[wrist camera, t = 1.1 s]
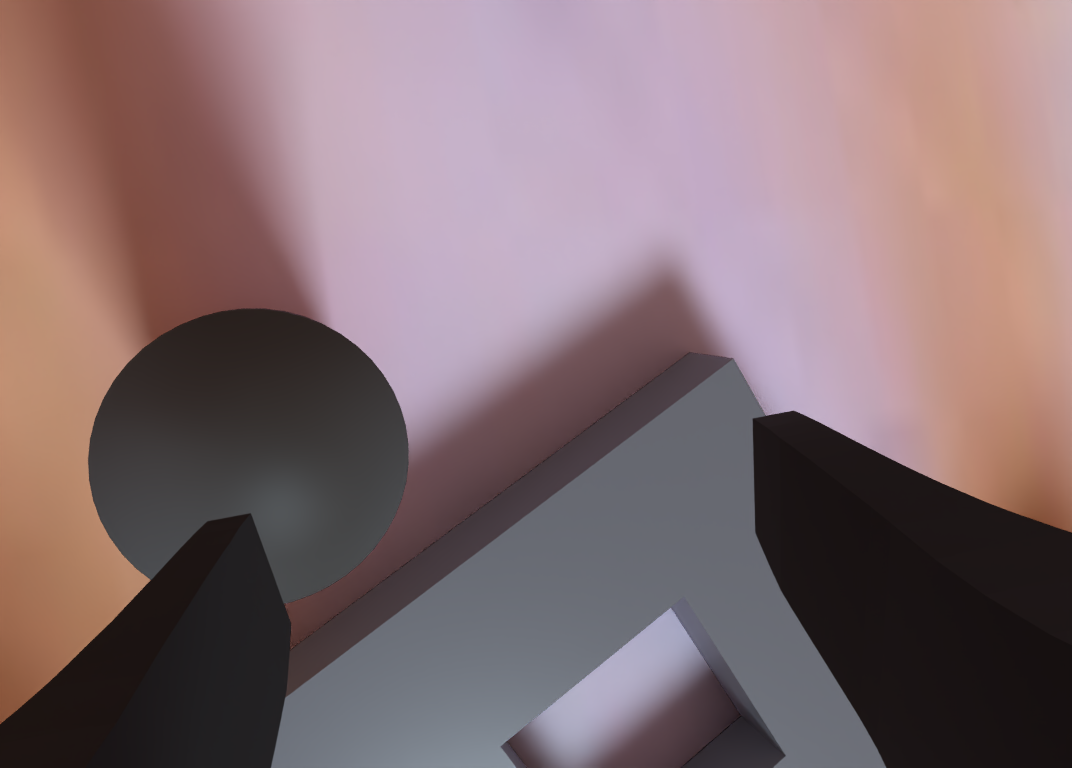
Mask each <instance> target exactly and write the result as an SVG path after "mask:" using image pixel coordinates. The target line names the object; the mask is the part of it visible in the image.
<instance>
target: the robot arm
mask: <svg viewBox="0 0 1072 768" xmlns="http://www.w3.org/2000/svg"><path fill="white" fill-rule="evenodd" d="M752 419H753V461H754V503H755V533H756V536H757V538H758V540H759V543H760V545H761V547H762V550H763V552H764V554H765V557H766V559H767V561H768V564H769V566H770V568H771V570H772V572H773V575H774V577H775V579H776V581H777V583H778V585H779V588H780V590H781V592H782V593H783V595H784V597H785V598H786V600H787V602H788V603H789V605H790V607H791V608H792V610H793V612H794V613H795V615H796V616H797V618H798V620H799V621H800V623H801V625H802V626H803V628H804V630H805V631H806V633H807V634H808V636H809V638H810V639H811V641H812V642H813V644H814V646H815V647H816V649H817V650H818V652H819V654H820V655H821V657H822V658H823V660H824V662H825V663H826V665H827V666H828V668H829V670H830V671H831V673H832V674H833V676H834V678H835V679H836V681H837V683H838V684H839V686H840V687H841V689H842V691H843V692H844V694H845V695H846V697H847V699H848V700H849V702H850V703H851V705H852V707H853V708H854V710H855V711H856V713H857V715H858V716H859V718H860V720H861V721H862V723H863V725H864V727H865V728H866V730H867V732H868V734H869V736H870V737H871V739H872V741H873V743H874V744H875V746H876V748H877V750H878V752H879V754H880V756H881V758H882V760H883V762H884V764H885V766H886V768H1072V533H1071V532H1068V531H1065V530H1062V529H1059V528H1056V527H1053V526H1050V525H1047V524H1044V523H1042V522H1039V521H1036V520H1033V519H1030V518H1027V517H1024V516H1021V515H1019V514H1016V513H1013V512H1010V511H1007V510H1005V509H1002V508H1000V507H997V506H994V505H992V504H989V503H987V502H984V501H982V500H979V499H977V498H975V497H972V496H970V495H968V494H965V493H963V492H961V491H958V490H956V489H954V488H951V487H949V486H947V485H945V484H942V483H940V482H938V481H936V480H933V479H931V478H929V477H927V476H925V475H923V474H920V473H918V472H916V471H914V470H912V469H910V468H908V467H906V466H904V465H902V464H900V463H898V462H896V461H893V460H891V459H889V458H887V457H885V456H883V455H881V454H879V453H878V452H876V451H874V450H872V449H870V448H868V447H866V446H864V445H862V444H860V443H858V442H856V441H854V440H852V439H850V438H848V437H846V436H844V435H843V434H841V433H839V432H837V431H835V430H833V429H831V428H829V427H827V426H825V425H823V424H821V423H819V422H817V421H815V420H813V419H811V418H809V417H807V416H805V415H803V414H800V413H798V412H796V411H790V412H784V413H779V414H774V415H768V416H763V417H758V418H752ZM290 634H291V622H290V619H289V616H288V614H287V611H286V608H285V605H284V603H283V600H282V597H281V594H280V592H279V589H278V586H277V583H276V581H275V578H274V575H273V572H272V570H271V567H270V564H269V561H268V559H267V556H266V553H265V550H264V548H263V545H262V542H261V539H260V537H259V534H258V531H257V528H256V526H255V523H254V520H253V517H252V515H251V513H248V514H243V515H238V516H233V517H227V518H222V519H217V520H211V521H207V522H206V523H205V524H204V525H203V526H202V527H201V528H200V529H199V530H198V531H197V532H196V533H195V534H194V535H193V536H192V537H191V538H190V539H189V540H188V541H187V542H186V543H185V544H184V545H183V546H182V547H181V548H180V549H179V550H178V551H177V552H176V554H175V555H174V556H173V557H172V558H171V559H170V560H169V561H168V562H167V563H166V564H165V565H164V567H163V568H162V569H161V570H160V571H159V572H158V573H157V574H156V575H155V576H154V577H153V578H152V579H151V581H150V582H149V583H148V584H147V585H146V586H145V587H144V588H143V589H142V590H141V591H140V592H139V593H138V594H137V595H136V596H135V598H134V599H133V600H132V601H131V602H130V603H129V604H128V605H127V606H126V607H125V608H124V609H123V610H122V611H121V612H120V613H119V614H118V616H117V617H116V618H115V619H114V620H113V621H112V622H111V623H110V624H109V625H108V626H107V627H106V628H105V629H104V630H102V631H101V632H100V633H99V634H98V635H97V636H96V637H95V638H94V639H93V640H92V641H91V642H90V643H89V644H88V645H87V646H86V647H85V648H84V649H83V650H82V651H81V652H80V653H79V654H78V655H77V656H76V657H75V658H74V659H73V660H72V661H71V662H70V663H69V664H68V665H67V666H66V667H65V668H64V669H63V670H61V671H60V672H59V673H58V674H57V675H56V676H55V677H54V678H53V679H52V680H51V681H50V682H49V683H48V684H46V685H45V686H44V687H43V688H42V689H41V690H40V691H39V692H38V693H36V694H35V695H34V696H33V697H32V698H31V699H30V700H28V701H27V702H26V703H25V704H24V705H23V706H22V707H20V708H19V709H18V710H17V711H16V712H14V713H13V714H12V715H11V716H10V717H8V718H7V719H6V720H5V721H4V722H2V723H1V724H0V768H271V766H272V761H273V756H274V751H275V747H276V742H277V737H278V732H279V727H280V722H281V717H282V712H283V707H284V702H285V696H286V691H287V681H288V668H289V654H290Z"/></svg>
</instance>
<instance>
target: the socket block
mask: <svg viewBox="0 0 1072 768" xmlns="http://www.w3.org/2000/svg"><path fill="white" fill-rule="evenodd" d="M763 416H766V415H765V414H764V412H763V410H762V408H761V407H760V405H759V403H758V401H757V399H756V398H755V396H754V394H753V392H752V391H751V389H750V387H749V385H748V384H747V382H746V380H745V378H744V376H743V375H742V373H741V371H740V369H739V368H738V366H737V364H736V362H735V360H734V359H733V358H726V357H719V356H712V355H705V354H699V353H692V352H690V353H689V354H687V355H686V356H685V357H683V358H682V359H681V360H679V361H678V362H676V363H675V364H674V365H672V366H671V367H670V368H668V369H667V370H666V371H664V372H663V373H662V374H660V375H659V376H658V377H656V378H655V379H654V380H652V381H651V382H650V383H648V384H647V385H646V386H644V387H643V388H642V389H640V390H639V391H638V392H636V393H635V394H634V395H632V396H631V397H630V398H628V399H627V400H625V401H624V402H623V403H621V404H620V405H619V406H617V407H616V408H615V409H613V410H612V411H611V412H609V413H608V414H607V415H605V416H604V417H603V418H601V419H600V420H599V421H597V422H596V423H595V424H593V425H592V426H591V427H589V428H588V429H587V430H585V431H584V432H583V433H581V434H580V435H579V436H577V437H576V438H574V439H573V440H572V441H570V442H569V443H568V444H566V445H565V446H564V447H562V448H561V449H560V450H558V451H557V452H556V453H554V454H553V455H552V456H550V457H549V458H548V459H546V460H545V461H544V462H542V463H541V464H540V465H538V466H537V467H536V468H534V469H533V470H532V471H530V472H529V473H528V474H526V475H525V476H523V477H522V478H521V479H519V480H518V481H517V482H515V483H514V484H513V485H511V486H510V487H509V488H507V489H506V490H505V491H503V492H502V493H501V494H499V495H498V496H497V497H495V498H494V499H493V500H491V501H490V502H489V503H487V504H486V505H485V506H483V507H482V508H481V509H479V510H478V511H477V512H475V513H474V514H472V515H471V516H470V517H468V518H467V519H466V520H464V521H463V522H462V523H460V524H459V525H458V526H456V527H455V528H454V529H452V530H451V531H450V532H448V533H447V534H446V535H444V536H443V537H442V538H440V539H439V540H438V541H436V542H435V543H434V544H432V545H431V546H430V547H428V548H427V549H426V550H424V551H423V552H421V553H420V554H419V555H417V556H416V557H415V558H413V559H412V560H411V561H409V562H408V563H407V564H405V565H404V566H403V567H401V568H400V569H399V570H397V571H396V572H395V573H393V574H392V575H391V576H389V577H388V578H387V579H385V580H384V581H383V582H381V583H380V584H379V585H377V586H376V587H375V588H373V589H372V590H370V591H369V592H368V593H366V594H365V595H364V596H362V597H361V598H360V599H358V600H357V601H356V602H354V603H353V604H352V605H350V606H349V607H348V608H346V609H345V610H344V611H342V612H341V613H340V614H338V615H337V616H336V617H334V618H333V619H332V620H330V621H329V622H328V623H326V624H325V625H324V626H322V627H321V628H319V629H318V630H317V631H315V632H314V633H313V634H311V635H310V636H309V637H307V638H306V639H305V640H303V641H302V642H301V643H299V644H298V645H297V646H295V647H294V648H293V649H291V650H290V654H289V668H288V681H287V691H286V696H285V702H284V707H283V712H282V717H281V722H280V727H279V732H278V737H277V742H276V747H275V751H274V756H273V761H272V766H271V768H527V767H526V766H525V765H524V763H523V762H522V761H521V759H520V758H519V757H518V755H517V754H516V753H515V751H514V750H513V749H512V747H511V746H510V745H509V744H508V742H507V741H508V740H509V739H510V738H511V737H513V736H514V735H515V734H516V733H517V732H519V731H520V730H521V729H522V728H524V727H525V726H526V725H527V724H529V723H530V722H531V721H532V720H533V719H535V718H536V717H537V716H538V715H540V714H541V713H542V712H543V711H544V710H546V709H547V708H548V707H549V706H551V705H552V704H553V703H554V702H555V701H557V700H558V699H559V698H560V697H562V696H563V695H564V694H565V693H566V692H568V691H569V690H570V689H571V688H573V687H574V686H575V685H576V684H577V683H579V682H580V681H581V680H582V679H584V678H585V677H586V676H587V675H589V674H590V673H591V672H592V671H593V670H595V669H596V668H597V667H598V666H600V665H601V664H602V663H603V662H604V661H606V660H607V659H608V658H609V657H611V656H612V655H613V654H614V653H615V652H617V651H618V650H619V649H620V648H622V647H623V646H624V645H625V644H626V643H628V642H629V641H630V640H631V639H633V638H634V637H635V636H636V635H637V634H639V633H640V632H641V631H642V630H644V629H645V628H646V627H647V626H649V625H650V624H651V623H652V622H653V621H655V620H656V619H657V618H658V617H660V616H661V615H662V614H663V613H664V612H666V611H667V610H668V609H669V608H672V610H673V611H674V613H675V614H676V616H677V617H678V619H679V621H680V622H681V624H682V625H683V627H684V628H685V630H686V631H687V633H688V634H689V636H690V638H691V639H692V641H693V642H694V644H695V645H696V647H697V648H698V650H699V651H700V653H701V655H702V656H703V658H704V659H705V661H706V662H707V664H708V665H709V667H710V668H711V670H712V672H713V673H714V675H715V676H716V678H717V679H718V681H719V682H720V684H721V685H722V687H723V688H724V690H725V692H726V693H727V695H728V696H729V698H730V699H731V701H732V702H733V704H734V705H735V707H736V709H737V710H738V712H739V713H740V715H741V717H740V718H738V719H737V720H736V721H735V722H734V723H733V724H732V725H730V726H729V727H728V728H727V729H726V730H725V731H723V732H722V733H721V734H720V735H719V736H718V737H717V738H715V739H714V740H713V741H712V742H711V743H710V744H708V745H707V746H706V747H705V748H704V749H703V750H702V751H700V752H699V753H698V754H697V755H696V756H695V757H693V758H692V759H691V760H690V761H689V762H688V763H687V764H685V765H684V766H683V767H682V768H886V766H885V764H884V762H883V760H882V758H881V756H880V754H879V752H878V750H877V748H876V746H875V744H874V743H873V741H872V739H871V737H870V736H869V734H868V732H867V730H866V728H865V727H864V725H863V723H862V721H861V720H860V718H859V716H858V715H857V713H856V711H855V710H854V708H853V707H852V705H851V703H850V702H849V700H848V699H847V697H846V695H845V694H844V692H843V691H842V689H841V687H840V686H839V684H838V683H837V681H836V679H835V678H834V676H833V674H832V673H831V671H830V670H829V668H828V666H827V665H826V663H825V662H824V660H823V658H822V657H821V655H820V654H819V652H818V650H817V649H816V647H815V646H814V644H813V642H812V641H811V639H810V638H809V636H808V634H807V633H806V631H805V630H804V628H803V626H802V625H801V623H800V621H799V620H798V618H797V616H796V615H795V613H794V612H793V610H792V608H791V607H790V605H789V603H788V602H787V600H786V598H785V597H784V595H783V593H782V592H781V590H780V588H779V585H778V583H777V581H776V579H775V577H774V575H773V572H772V570H771V568H770V566H769V564H768V561H767V559H766V557H765V554H764V552H763V550H762V547H761V545H760V543H759V540H758V538H757V536H756V533H755V503H754V461H753V419H752V418H758V417H763Z"/></svg>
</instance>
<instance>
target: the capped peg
mask: <svg viewBox="0 0 1072 768" xmlns="http://www.w3.org/2000/svg"><path fill="white" fill-rule="evenodd" d="M408 463H409V462H408V438H407V431H406V425H405V422H404V418H403V415H402V411H401V408H400V405H399V403H398V401H397V399H396V396H395V394H394V392H393V390H392V388H391V386H390V385H389V383H388V381H387V380H386V378H385V377H384V375H383V374H382V372H381V371H380V370H379V369H378V367H377V366H376V365H375V364H374V362H373V361H372V360H371V359H370V358H369V357H368V356H367V355H366V354H365V353H364V352H363V351H362V350H361V349H360V348H359V347H358V346H356V345H355V344H354V343H352V342H351V341H350V340H348V339H347V338H345V337H344V336H343V335H341V334H340V333H338V332H336V331H334V330H333V329H331V328H329V327H327V326H325V325H323V324H322V323H319V322H317V321H314V320H312V319H309V318H307V317H304V316H301V315H297V314H293V313H289V312H285V311H279V310H271V309H236V310H228V311H221V312H217V313H213V314H209V315H205V316H202V317H199V318H197V319H194V320H192V321H189V322H187V323H184V324H182V325H179V326H177V327H176V328H174V329H172V330H170V331H168V332H167V333H165V334H163V335H161V336H160V337H158V338H157V339H155V340H154V341H153V342H151V343H150V344H149V345H147V346H146V347H145V348H143V349H142V350H141V351H140V352H139V353H138V354H137V355H136V356H135V357H134V358H133V359H132V360H131V361H130V362H129V363H128V364H127V365H126V366H125V367H124V369H123V370H122V371H121V372H120V374H119V375H118V376H117V377H116V379H115V380H114V381H113V383H112V385H111V387H110V388H109V390H108V392H107V393H106V395H105V397H104V399H103V401H102V403H101V406H100V408H99V411H98V413H97V416H96V418H95V422H94V426H93V430H92V434H91V438H90V446H89V457H88V465H89V481H90V486H91V491H92V496H93V501H94V504H95V506H96V509H97V512H98V515H99V517H100V520H101V522H102V524H103V526H104V527H105V529H106V531H107V533H108V535H109V537H110V538H111V540H112V541H113V542H114V544H115V545H116V546H117V548H118V549H119V551H120V552H121V553H122V555H123V556H124V557H125V558H126V559H127V560H128V561H129V562H130V563H131V564H132V565H133V566H134V567H135V568H136V569H137V570H139V571H140V572H141V573H143V574H144V575H145V576H147V577H148V578H149V579H150V580H151V579H152V578H153V577H154V576H155V575H156V574H157V573H158V572H159V571H160V570H161V569H162V568H163V567H164V565H165V564H166V563H167V562H168V561H169V560H170V559H171V558H172V557H173V556H174V555H175V554H176V552H177V551H178V550H179V549H180V548H181V547H182V546H183V545H184V544H185V543H186V542H187V541H188V540H189V539H190V538H191V537H192V536H193V535H194V534H195V533H196V532H197V531H198V530H199V529H200V528H201V527H202V526H203V525H204V524H205V523H206V522H207V521H211V520H217V519H222V518H227V517H233V516H238V515H243V514H248V513H251V515H252V517H253V520H254V523H255V526H256V528H257V531H258V534H259V537H260V539H261V542H262V545H263V548H264V550H265V553H266V556H267V559H268V561H269V564H270V567H271V570H272V572H273V575H274V578H275V581H276V583H277V586H278V589H279V592H280V594H281V597H282V600H283V603H284V604H285V603H289V602H293V601H296V600H299V599H301V598H304V597H307V596H310V595H312V594H314V593H316V592H318V591H320V590H322V589H324V588H326V587H329V586H330V585H332V584H333V583H335V582H336V581H338V580H339V579H341V578H343V577H344V576H346V575H347V574H348V573H349V572H350V571H352V570H353V569H354V568H355V567H356V566H358V565H359V564H360V563H361V562H362V561H363V560H364V559H365V558H366V557H367V556H368V555H369V554H370V552H371V551H372V550H373V549H374V548H375V547H376V545H377V544H378V543H379V541H380V540H381V539H382V537H383V536H384V534H385V533H386V531H387V529H388V528H389V526H390V524H391V522H392V520H393V519H394V517H395V514H396V512H397V509H398V507H399V504H400V502H401V499H402V496H403V492H404V488H405V484H406V479H407V471H408Z"/></svg>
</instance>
